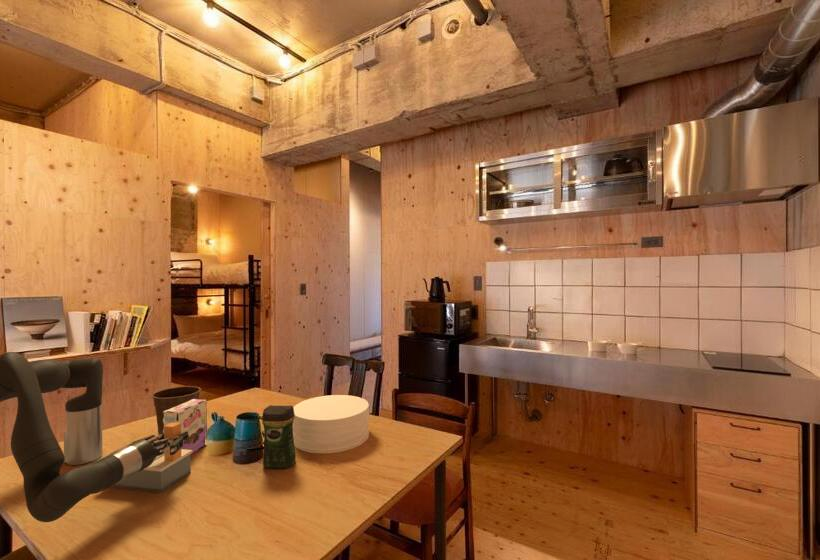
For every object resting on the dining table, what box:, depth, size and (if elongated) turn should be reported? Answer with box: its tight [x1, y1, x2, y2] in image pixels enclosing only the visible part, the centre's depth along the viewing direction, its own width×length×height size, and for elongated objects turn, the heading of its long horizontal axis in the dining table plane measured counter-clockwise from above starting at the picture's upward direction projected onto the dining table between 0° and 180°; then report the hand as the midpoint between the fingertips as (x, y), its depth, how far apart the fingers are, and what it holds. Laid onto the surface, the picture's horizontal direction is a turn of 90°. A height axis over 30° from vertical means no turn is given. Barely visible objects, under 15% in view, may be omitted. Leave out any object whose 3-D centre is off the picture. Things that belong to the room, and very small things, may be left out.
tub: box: [110, 454, 192, 493], centre depth 115 cm, size 18×11×6 cm, turn 79°
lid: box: [143, 422, 194, 472], centre depth 115 cm, size 19×12×11 cm, turn 79°
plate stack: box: [293, 394, 370, 454], centre depth 145 cm, size 28×28×12 cm
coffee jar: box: [261, 405, 296, 469], centre depth 124 cm, size 10×8×19 cm
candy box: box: [163, 398, 208, 455], centre depth 133 cm, size 14×6×16 cm, turn 168°
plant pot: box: [151, 385, 202, 435], centre depth 150 cm, size 16×16×16 cm
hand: (179, 434), depth 116 cm, fingers open, 4 cm apart
